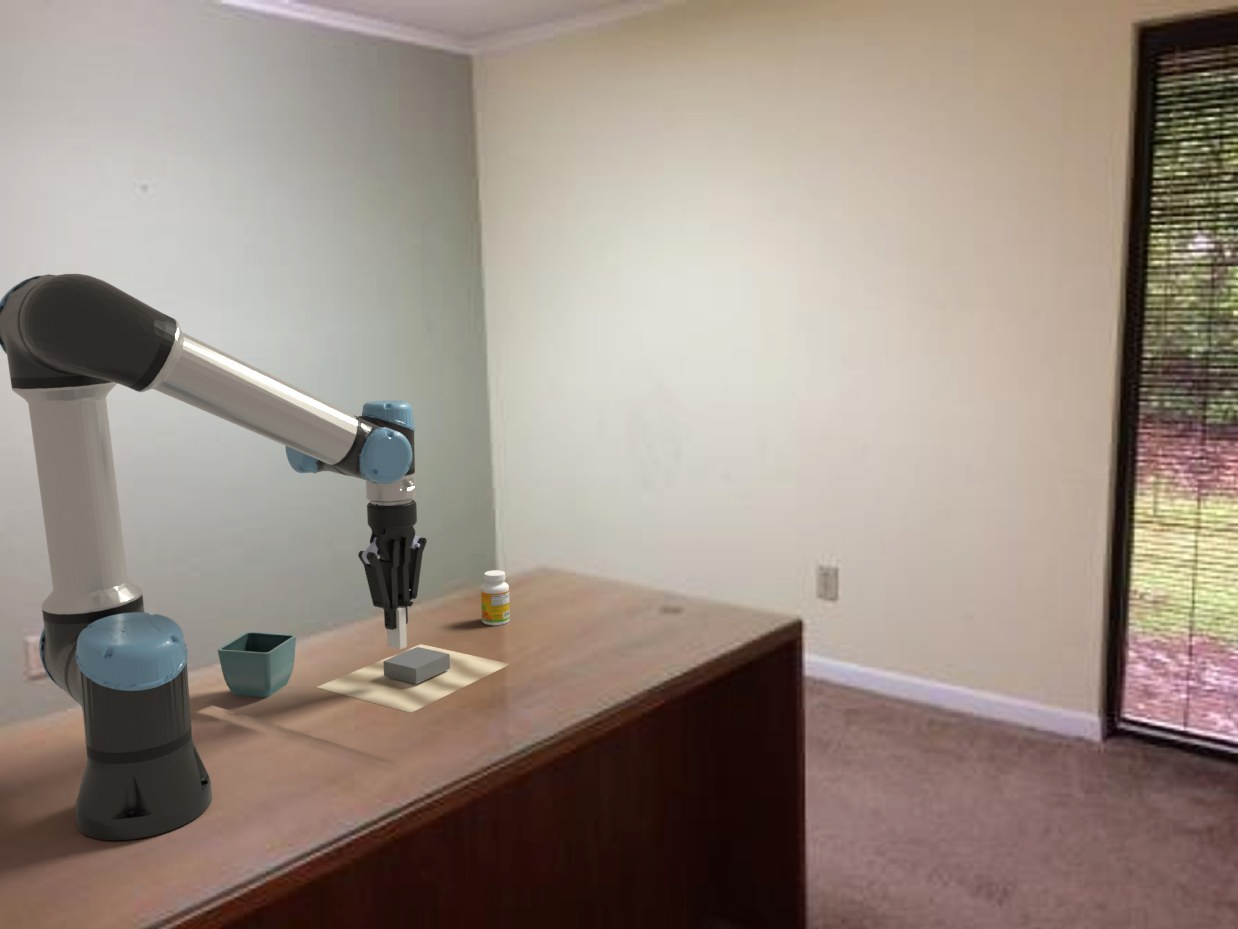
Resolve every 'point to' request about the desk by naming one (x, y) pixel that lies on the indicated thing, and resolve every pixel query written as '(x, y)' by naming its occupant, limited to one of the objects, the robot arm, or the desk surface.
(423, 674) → the tile
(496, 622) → the supplement bottle
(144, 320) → the robot arm
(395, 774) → the desk surface
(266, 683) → the flower pot
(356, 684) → the board
